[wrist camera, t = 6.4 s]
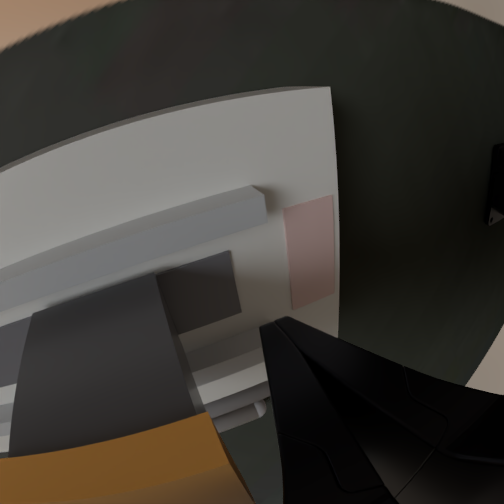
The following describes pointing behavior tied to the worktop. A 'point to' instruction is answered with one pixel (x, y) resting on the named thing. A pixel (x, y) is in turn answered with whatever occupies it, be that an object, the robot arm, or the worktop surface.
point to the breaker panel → (181, 227)
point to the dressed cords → (238, 407)
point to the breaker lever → (113, 410)
